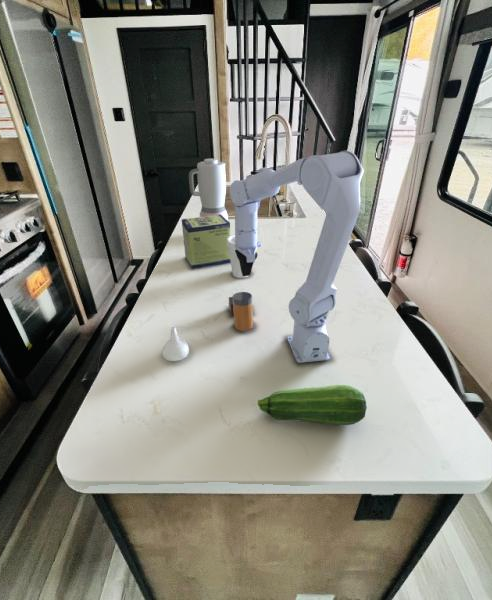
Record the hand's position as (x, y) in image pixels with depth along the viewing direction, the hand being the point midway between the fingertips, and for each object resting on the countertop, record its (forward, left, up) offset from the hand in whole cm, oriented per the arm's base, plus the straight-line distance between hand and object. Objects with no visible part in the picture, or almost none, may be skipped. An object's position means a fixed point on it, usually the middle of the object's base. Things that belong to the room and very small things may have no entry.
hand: (246, 274), depth 90 cm
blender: (+56, +6, -10) cm, 58 cm away
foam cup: (+20, -2, -10) cm, 23 cm away
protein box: (+33, +9, -10) cm, 36 cm away
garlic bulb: (-19, +20, -10) cm, 29 cm away
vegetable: (-40, -6, -10) cm, 42 cm away
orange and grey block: (-7, +3, -10) cm, 13 cm away
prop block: (-3, +2, -10) cm, 11 cm away
